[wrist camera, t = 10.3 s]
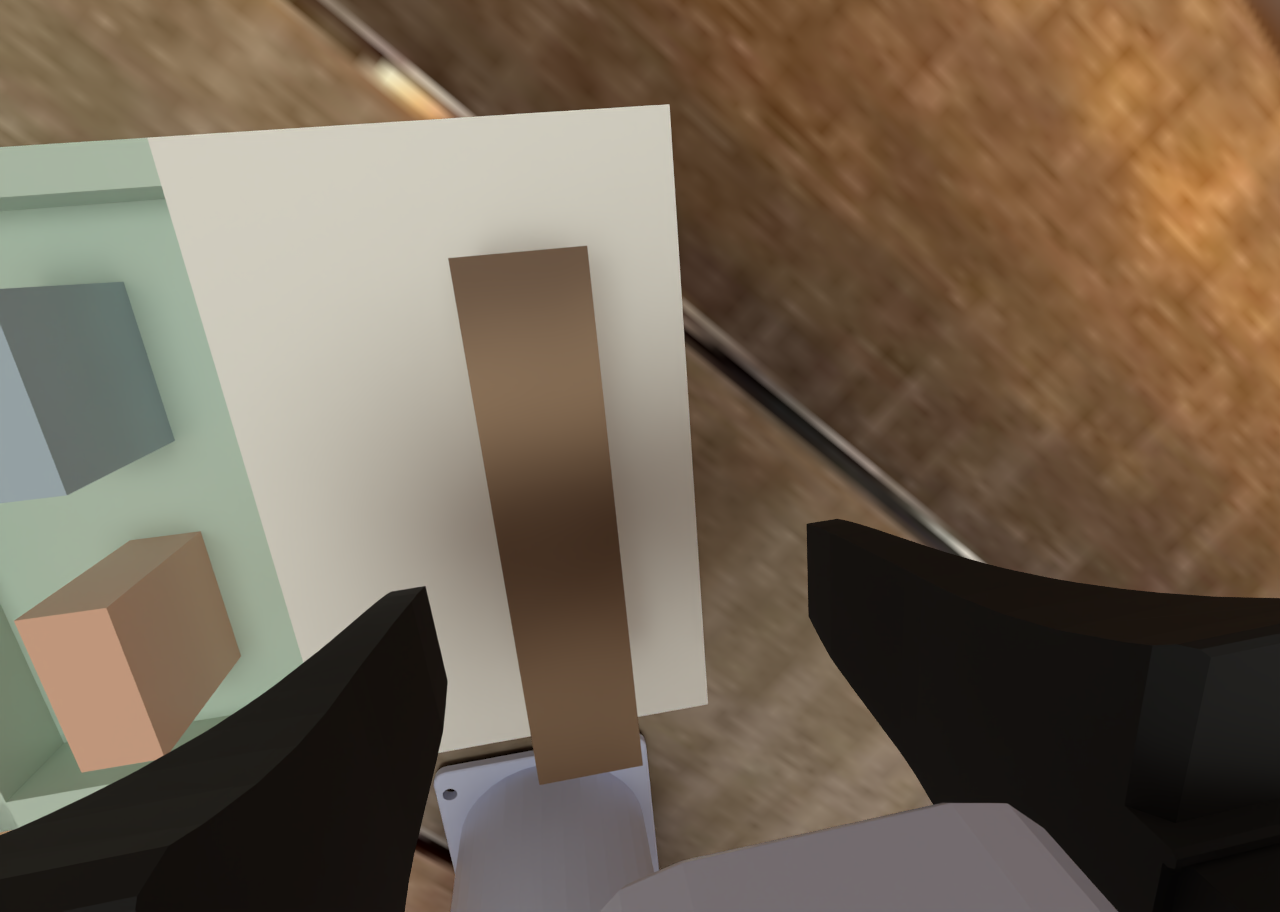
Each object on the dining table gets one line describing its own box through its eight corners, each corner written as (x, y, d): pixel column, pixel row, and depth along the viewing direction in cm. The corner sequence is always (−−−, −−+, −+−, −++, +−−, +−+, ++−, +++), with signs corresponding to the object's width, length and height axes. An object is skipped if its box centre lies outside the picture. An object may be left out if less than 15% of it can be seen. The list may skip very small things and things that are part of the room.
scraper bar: (618, 646, 20) (642, 765, 15) (538, 659, 20) (539, 785, 15) (572, 248, 16) (587, 245, 12) (474, 258, 16) (447, 257, 11)
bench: (687, 651, 24) (707, 704, 21) (360, 707, 23) (335, 771, 20) (649, 127, 19) (669, 104, 16) (211, 157, 17) (147, 137, 14)
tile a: (165, 758, 17) (81, 772, 16) (241, 656, 21) (175, 666, 21) (106, 608, 15) (13, 621, 15) (200, 531, 19) (129, 540, 19)
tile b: (67, 495, 14) (-32, 507, 14) (174, 440, 18) (100, 449, 18) (-14, 289, 13) (-125, 298, 13) (123, 281, 17) (41, 288, 17)
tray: (360, 707, 23) (335, 771, 20) (55, 759, 21) (-19, 835, 19) (211, 157, 17) (147, 137, 14) (-214, 186, 16) (-375, 171, 13)
